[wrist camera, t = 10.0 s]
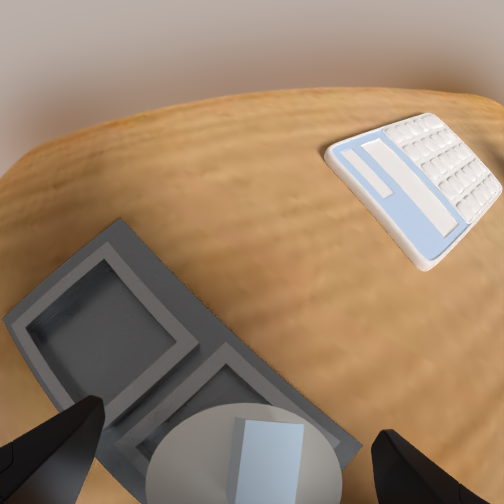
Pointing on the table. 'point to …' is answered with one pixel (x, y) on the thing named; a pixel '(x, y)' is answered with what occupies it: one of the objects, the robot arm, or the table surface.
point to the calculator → (417, 184)
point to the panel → (142, 353)
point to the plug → (244, 460)
